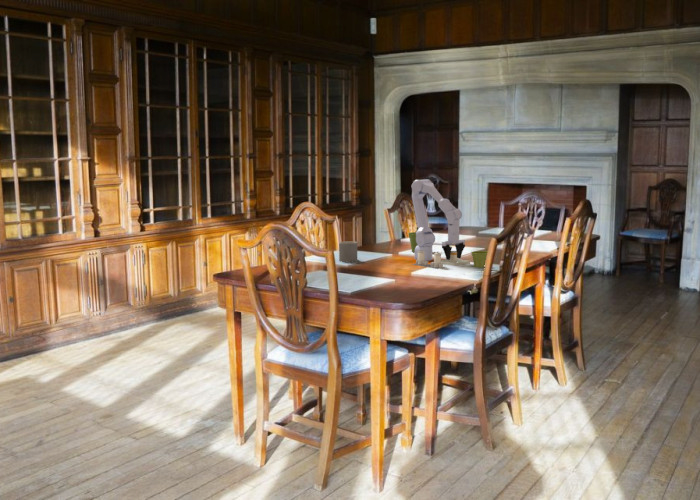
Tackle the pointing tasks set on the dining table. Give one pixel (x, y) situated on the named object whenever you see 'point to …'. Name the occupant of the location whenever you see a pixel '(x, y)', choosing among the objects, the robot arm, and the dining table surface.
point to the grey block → (347, 251)
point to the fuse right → (437, 260)
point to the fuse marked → (453, 257)
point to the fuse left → (421, 256)
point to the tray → (455, 263)
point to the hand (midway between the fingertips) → (453, 258)
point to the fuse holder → (431, 265)
